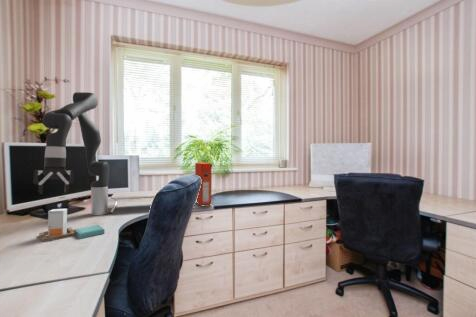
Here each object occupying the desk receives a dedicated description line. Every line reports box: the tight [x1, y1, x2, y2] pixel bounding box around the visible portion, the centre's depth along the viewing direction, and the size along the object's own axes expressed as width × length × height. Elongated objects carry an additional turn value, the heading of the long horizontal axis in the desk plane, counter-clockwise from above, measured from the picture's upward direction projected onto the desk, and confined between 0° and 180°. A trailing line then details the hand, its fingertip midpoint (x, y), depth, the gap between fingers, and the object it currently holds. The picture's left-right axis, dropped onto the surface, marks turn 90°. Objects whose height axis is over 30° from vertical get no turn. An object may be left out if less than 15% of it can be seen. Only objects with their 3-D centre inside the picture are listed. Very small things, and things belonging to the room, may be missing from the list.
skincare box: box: [47, 208, 68, 238], centre depth 108 cm, size 6×4×12 cm
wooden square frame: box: [38, 227, 77, 242], centre depth 108 cm, size 12×12×1 cm
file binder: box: [194, 162, 212, 206], centre depth 182 cm, size 8×17×32 cm, turn 26°
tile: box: [73, 224, 105, 240], centre depth 111 cm, size 10×10×2 cm
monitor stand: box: [109, 190, 159, 215], centre depth 166 cm, size 37×28×11 cm
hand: (53, 193), depth 104 cm, fingers open, 8 cm apart
